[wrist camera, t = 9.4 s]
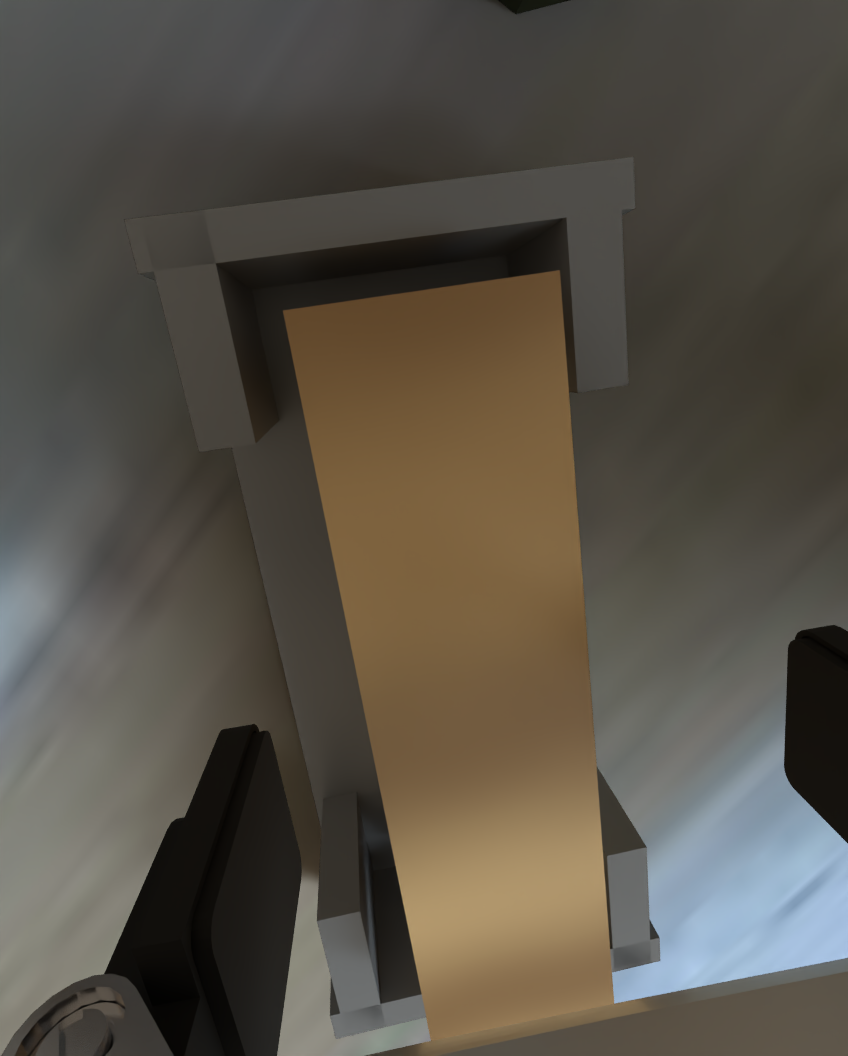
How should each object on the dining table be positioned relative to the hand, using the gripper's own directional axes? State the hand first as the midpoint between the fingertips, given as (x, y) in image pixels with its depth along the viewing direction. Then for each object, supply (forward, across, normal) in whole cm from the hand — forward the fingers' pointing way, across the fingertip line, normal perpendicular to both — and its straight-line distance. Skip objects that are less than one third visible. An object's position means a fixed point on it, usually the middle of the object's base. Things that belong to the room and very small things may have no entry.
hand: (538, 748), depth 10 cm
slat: (+6, +1, 0) cm, 6 cm away
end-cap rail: (+7, +1, 0) cm, 7 cm away
